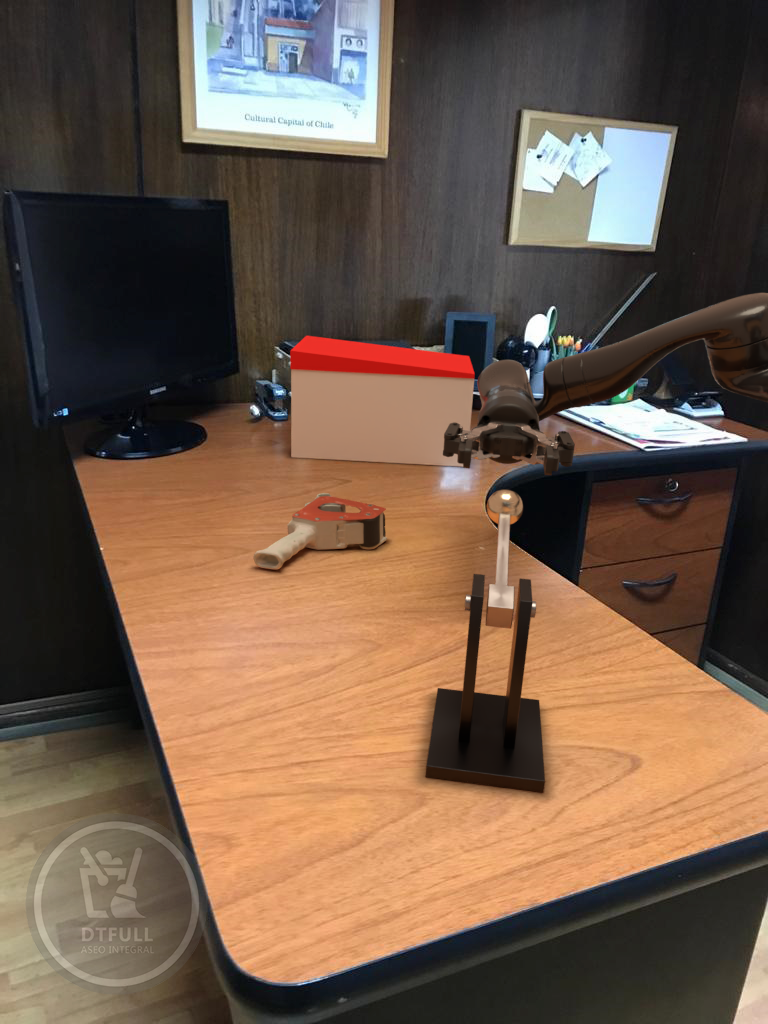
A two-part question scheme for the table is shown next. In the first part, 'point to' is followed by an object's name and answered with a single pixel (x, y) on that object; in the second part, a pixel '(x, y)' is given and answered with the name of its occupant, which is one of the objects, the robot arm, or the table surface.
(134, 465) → the table surface
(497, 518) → the lever
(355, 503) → the tape dispenser
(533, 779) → the bracket
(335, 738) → the table surface
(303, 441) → the red-topped tan box
